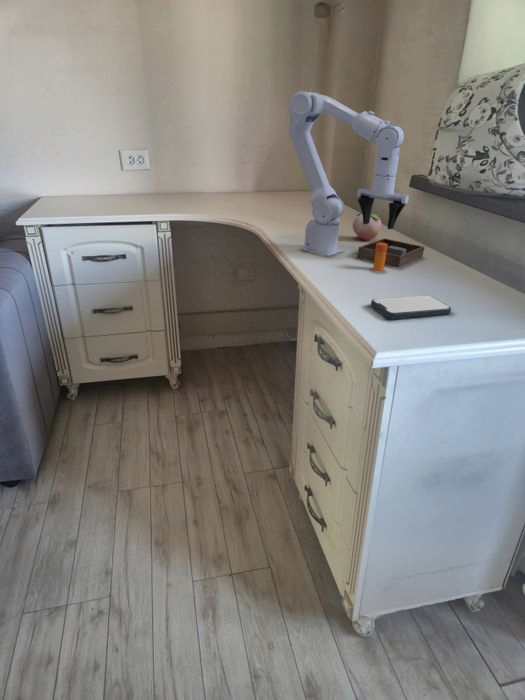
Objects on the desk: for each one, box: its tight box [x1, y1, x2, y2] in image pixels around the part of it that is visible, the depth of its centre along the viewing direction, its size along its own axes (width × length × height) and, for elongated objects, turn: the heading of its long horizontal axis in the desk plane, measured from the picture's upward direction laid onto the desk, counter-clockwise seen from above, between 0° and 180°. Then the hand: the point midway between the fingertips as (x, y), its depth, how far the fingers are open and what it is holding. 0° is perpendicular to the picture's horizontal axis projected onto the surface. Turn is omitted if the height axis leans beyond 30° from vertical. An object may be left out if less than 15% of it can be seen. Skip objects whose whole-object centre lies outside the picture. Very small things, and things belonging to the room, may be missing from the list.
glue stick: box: [372, 242, 388, 272], centre depth 131 cm, size 3×3×8 cm
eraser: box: [387, 246, 407, 256], centre depth 146 cm, size 5×3×2 cm, turn 49°
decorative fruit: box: [352, 212, 383, 242], centre depth 159 cm, size 9×8×10 cm
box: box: [357, 238, 425, 268], centre depth 143 cm, size 13×15×4 cm
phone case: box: [370, 295, 452, 320], centre depth 108 cm, size 9×2×16 cm
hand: (378, 226), depth 137 cm, fingers open, 7 cm apart
